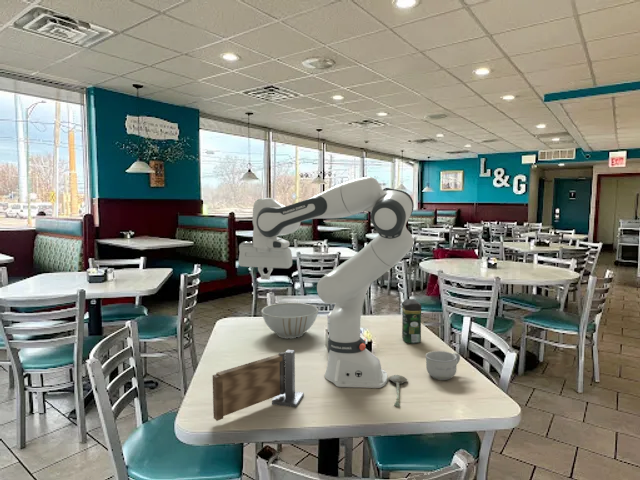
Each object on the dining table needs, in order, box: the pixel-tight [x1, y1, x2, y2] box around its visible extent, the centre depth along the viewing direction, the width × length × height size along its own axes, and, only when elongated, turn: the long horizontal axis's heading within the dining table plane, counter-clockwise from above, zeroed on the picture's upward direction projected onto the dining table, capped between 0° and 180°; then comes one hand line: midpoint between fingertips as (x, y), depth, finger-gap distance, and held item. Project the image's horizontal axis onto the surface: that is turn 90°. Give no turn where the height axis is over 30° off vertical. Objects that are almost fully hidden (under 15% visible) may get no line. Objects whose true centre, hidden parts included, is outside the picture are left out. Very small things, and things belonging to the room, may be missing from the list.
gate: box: [212, 351, 285, 422], centre depth 124 cm, size 24×2×13 cm, turn 131°
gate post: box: [271, 349, 305, 408], centre depth 131 cm, size 8×8×16 cm
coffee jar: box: [401, 298, 422, 345], centre depth 187 cm, size 10×8×19 cm
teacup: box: [425, 350, 461, 381], centre depth 149 cm, size 14×11×8 cm
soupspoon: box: [388, 374, 408, 407], centre depth 138 cm, size 22×3×7 cm
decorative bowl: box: [260, 302, 319, 339], centre depth 196 cm, size 27×27×12 cm
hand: (265, 279), depth 154 cm, fingers closed
